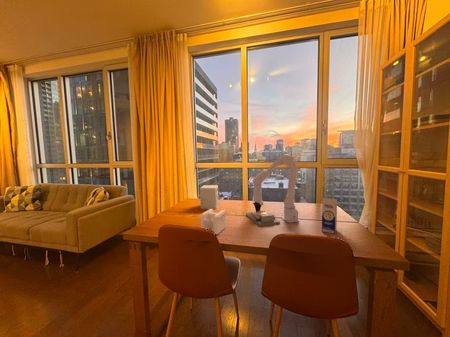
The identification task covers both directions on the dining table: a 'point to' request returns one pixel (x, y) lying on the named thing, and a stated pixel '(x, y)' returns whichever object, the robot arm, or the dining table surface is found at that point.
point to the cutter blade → (261, 213)
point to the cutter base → (263, 219)
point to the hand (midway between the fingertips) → (257, 212)
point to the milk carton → (329, 215)
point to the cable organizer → (213, 220)
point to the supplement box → (209, 197)
